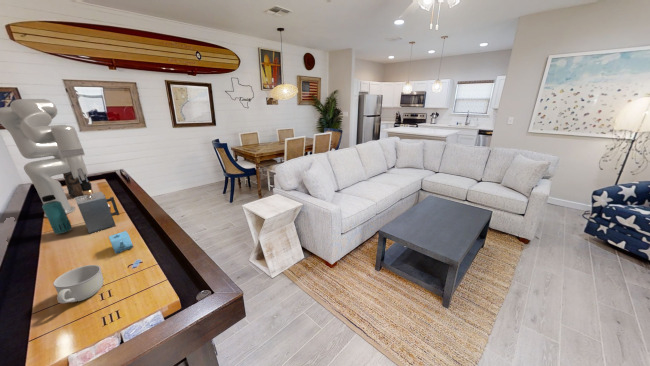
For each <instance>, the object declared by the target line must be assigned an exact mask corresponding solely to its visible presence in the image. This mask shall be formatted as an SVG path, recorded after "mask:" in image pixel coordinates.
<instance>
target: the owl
mask: <svg viewBox="0 0 650 366" xmlns="http://www.w3.org/2000/svg"><path fill="white" fill-rule="evenodd" d="M62 175H63V178H64V182H65V186H66V188H67V192H68V195H69V196H70V197H71V198H72V197H73V199H74V198H75V197H79V196H84V195H83V192H82V191H83V190H82V188H81V186H80V181H79V179H78V178H76V179H74V178H73V175H72V173H71V171H70V172H68V173H64V174H62ZM86 177H87V178H88V176H86ZM87 180H88V179H87ZM88 181H89V183H90V186H91V188H92V189H93V187H92V183H91V181H90V180H88Z"/></svg>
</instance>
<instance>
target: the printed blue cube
mask: <svg viewBox="0 0 650 366" xmlns="http://www.w3.org/2000/svg"><path fill="white" fill-rule="evenodd" d="M108 239H109V242H110V244H111V247H112V249H113V251H114V254H115V255H116V254H120V253H121V254H122V252H125V251H127V250H128V251H129V250H131V249H133V248H134V245H133V242H132V240H131V237H130V234H129V233H128V231H127V230H124V231H121V232H118V233H115V234H112V235H109V236H108Z"/></svg>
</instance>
